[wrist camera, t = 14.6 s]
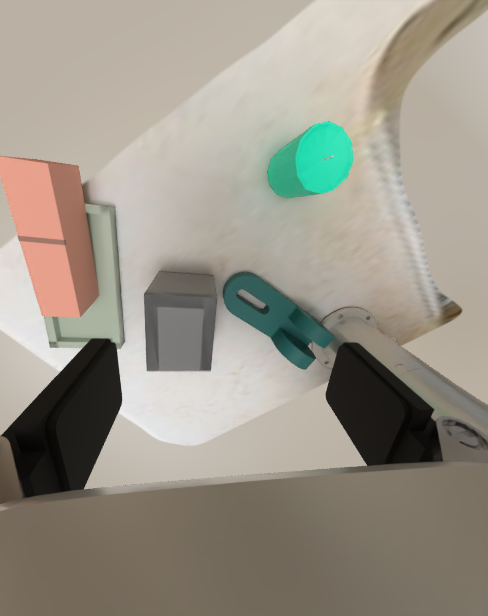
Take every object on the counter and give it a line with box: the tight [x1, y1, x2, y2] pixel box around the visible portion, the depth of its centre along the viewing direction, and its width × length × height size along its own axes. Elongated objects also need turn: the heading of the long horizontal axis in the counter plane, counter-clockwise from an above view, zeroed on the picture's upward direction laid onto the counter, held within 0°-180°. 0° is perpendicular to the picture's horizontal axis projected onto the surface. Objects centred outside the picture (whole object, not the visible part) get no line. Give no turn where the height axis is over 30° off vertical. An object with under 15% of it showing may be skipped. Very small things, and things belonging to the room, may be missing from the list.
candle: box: [267, 121, 353, 198], centre depth 27 cm, size 6×6×12 cm
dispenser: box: [144, 271, 217, 372], centre depth 33 cm, size 11×8×10 cm
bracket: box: [223, 272, 335, 369], centre depth 37 cm, size 18×7×8 cm, turn 53°
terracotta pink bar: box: [0, 156, 99, 318], centre depth 27 cm, size 4×16×6 cm, turn 173°
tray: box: [44, 203, 125, 349], centre depth 32 cm, size 9×20×2 cm, turn 173°
